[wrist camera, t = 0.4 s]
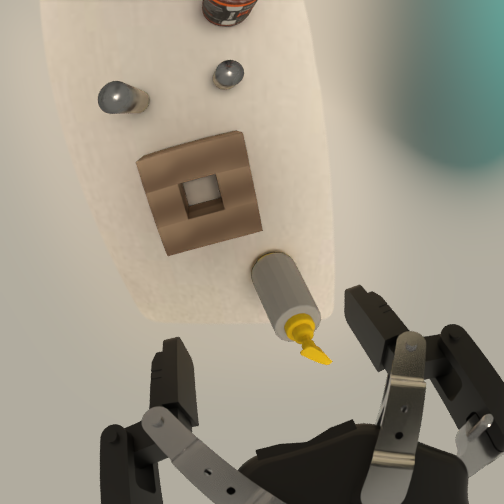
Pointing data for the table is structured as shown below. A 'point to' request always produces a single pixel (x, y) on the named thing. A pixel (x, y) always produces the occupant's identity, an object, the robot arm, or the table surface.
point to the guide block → (207, 213)
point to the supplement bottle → (227, 11)
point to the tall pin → (122, 98)
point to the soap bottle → (288, 303)
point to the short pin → (228, 74)
